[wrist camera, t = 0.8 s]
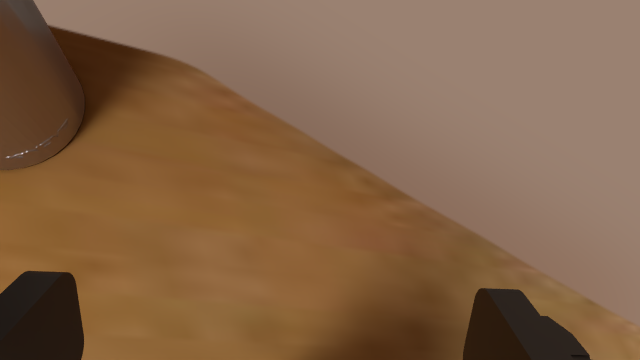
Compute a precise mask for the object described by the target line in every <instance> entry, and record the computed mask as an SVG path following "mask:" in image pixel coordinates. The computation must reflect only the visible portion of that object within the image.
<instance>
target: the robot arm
mask: <svg viewBox="0 0 640 360" xmlns="http://www.w3.org/2000/svg"><path fill="white" fill-rule="evenodd" d="M84 111H85V97H84V93H83V89H82V86H81V84H80V82H79V80H78V78H77V77H76V75H75V73H74V71H73V70H72V68H71V66H70V64H69V62H68V61H67V59H66V57H65V55H64V54H63V52H62V50H61V48H60V46H59V44H58V43H57V41H56V39H55V37H54V36H53V34H52V32H51V30H50V29H49V27H48V25H47V23H46V22H45V20H44V18H43V17H42V15H41V13H40V11H39V10H38V8H37V6H36V5H35V3H34V1H33V0H0V170H12V169H19V168H25V167H28V166H31V165H34V164H37V163H40V162H42V161H44V160H46V159H48V158H50V157H52V156H53V155H55V154H56V153H57V152H59V151H60V150H61V149H62V148H64V147H65V146H66V145H67V144H68V143H69V142H70V140H71V139H72V138H73V137H74V136H75V134H76V132H77V130H78V128H79V127H80V125H81V123H82V119H83V115H84ZM83 348H84V334H83V328H82V321H81V314H80V307H79V301H78V294H77V287H76V282H75V279H74V277H73V275H72V274H71V273H68V272H42V271H27V272H24V273H23V274H21V275H20V276H19V277H18V278H17V279H16V280H15V281H14V282H13V283H12V284H11V285H9V286H8V287H7V288H6V289H5V290H4V291H3V292H2V293H1V294H0V360H81V358H82V354H83ZM589 356H590V355H589V354H588V353H587V352H586V350H585V349H584V348H583V347H582V345H581V344H580V343H579V342H578V341H577V339H576V338H575V337H574V336H573V334H571V333H570V332H569V331H567V330H566V329H564V328H563V327H562V326H560V325H559V324H558V323H556V322H555V321H553V320H552V319H551V318H549V317H548V316H540V314H539V313H538V312H537V311H536V309H535V308H534V307H533V305H532V304H531V303H530V301H529V300H528V299H527V297H526V296H525V295H524V294H523V293H522V292H521V291H520V290H514V289H486V288H481V289H479V290H478V292H477V293H476V296H475V300H474V304H473V309H472V313H471V318H470V323H469V327H468V332H467V337H466V341H465V346H464V352H463V360H590V357H589Z"/></svg>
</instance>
